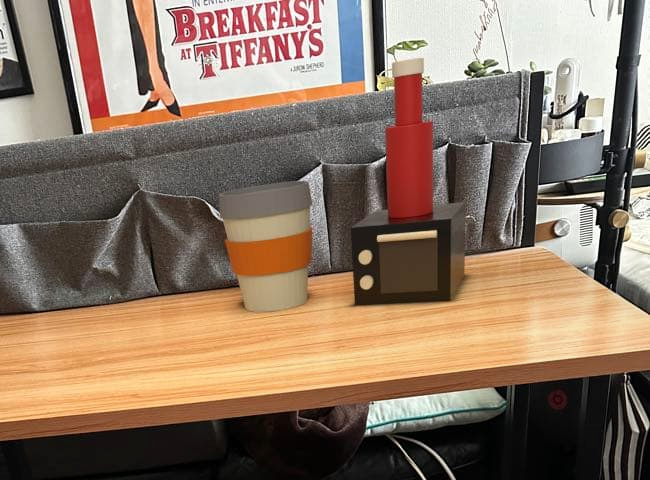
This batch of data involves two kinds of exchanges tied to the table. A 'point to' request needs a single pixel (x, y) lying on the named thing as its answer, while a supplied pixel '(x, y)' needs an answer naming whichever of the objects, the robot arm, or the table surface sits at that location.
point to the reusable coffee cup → (269, 243)
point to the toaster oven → (409, 256)
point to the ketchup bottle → (409, 146)
